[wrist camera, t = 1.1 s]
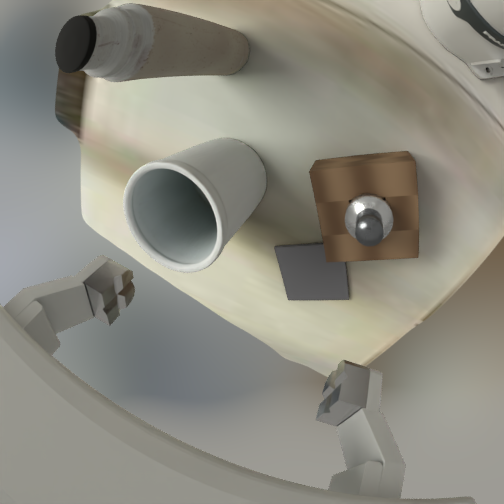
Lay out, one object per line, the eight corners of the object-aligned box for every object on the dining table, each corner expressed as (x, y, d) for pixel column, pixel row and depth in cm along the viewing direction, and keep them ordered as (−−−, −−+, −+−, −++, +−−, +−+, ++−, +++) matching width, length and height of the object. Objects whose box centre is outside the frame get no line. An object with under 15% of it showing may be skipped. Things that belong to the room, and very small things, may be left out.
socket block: (407, 151, 34) (415, 161, 30) (413, 237, 41) (418, 257, 36) (315, 160, 40) (309, 171, 36) (331, 242, 47) (326, 262, 42)
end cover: (387, 181, 36) (394, 206, 29) (391, 223, 39) (396, 255, 32) (343, 185, 39) (339, 210, 32) (349, 226, 42) (346, 258, 35)
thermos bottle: (194, 63, 37) (37, 77, 16) (216, 22, 32) (61, -6, 11) (234, 84, 38) (82, 105, 16) (259, 41, 33) (117, 4, 11)
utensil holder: (175, 162, 49) (106, 201, 35) (236, 115, 41) (169, 136, 27) (220, 227, 53) (168, 285, 39) (287, 192, 45) (248, 250, 31)
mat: (342, 241, 46) (342, 243, 45) (349, 297, 51) (348, 299, 51) (275, 245, 51) (274, 247, 51) (289, 298, 56) (288, 300, 56)
